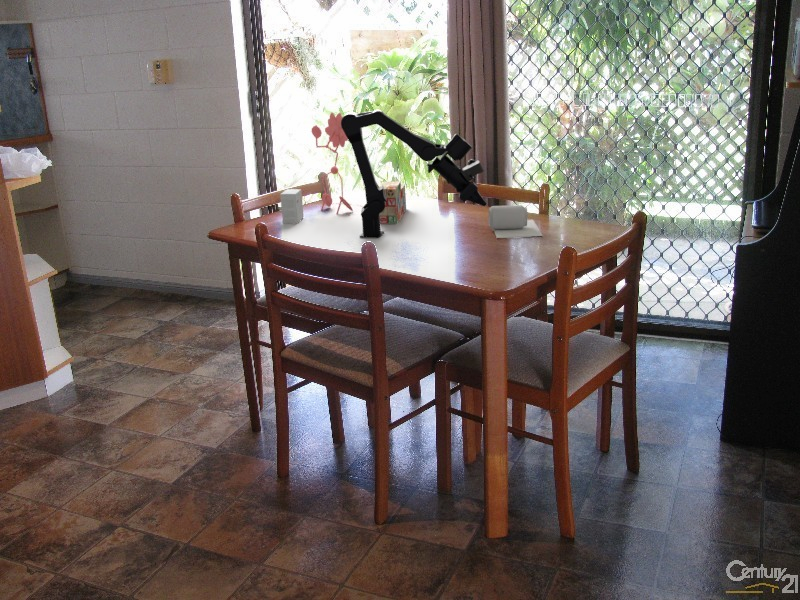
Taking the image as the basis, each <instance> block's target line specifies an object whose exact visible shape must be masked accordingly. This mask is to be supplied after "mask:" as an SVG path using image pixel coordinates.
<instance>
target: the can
mask: <svg viewBox="0 0 800 600" xmlns="http://www.w3.org/2000/svg"><path fill="white" fill-rule="evenodd" d="M527 220H528V208H527V207H526V206H523V205H522V204H515V205H514V204H513V205H492V206H491V207H489V208H488V227H489V228H490V230H493V231H494V229H522V228H523V227H524V226H527Z"/></svg>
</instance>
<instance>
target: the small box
mask: <svg viewBox="0 0 800 600" xmlns="http://www.w3.org/2000/svg"><path fill="white" fill-rule="evenodd" d="M279 198H280V206H281V217H282V224H283V223H287V224H293V223H296V224H299V223H300V222H301V221H302V220H303V219H304V218H303V217H304V206H303V192H302V189H301V188H299V189H297V188H293V189H291V188H290V189H289V188H287V189H285V190H284V191H283V192H281V193H280V197H279ZM302 218H303V219H302ZM301 219H302V220H301ZM300 220H301V221H300ZM299 221H300V222H299ZM298 222H299V223H298Z"/></svg>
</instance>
